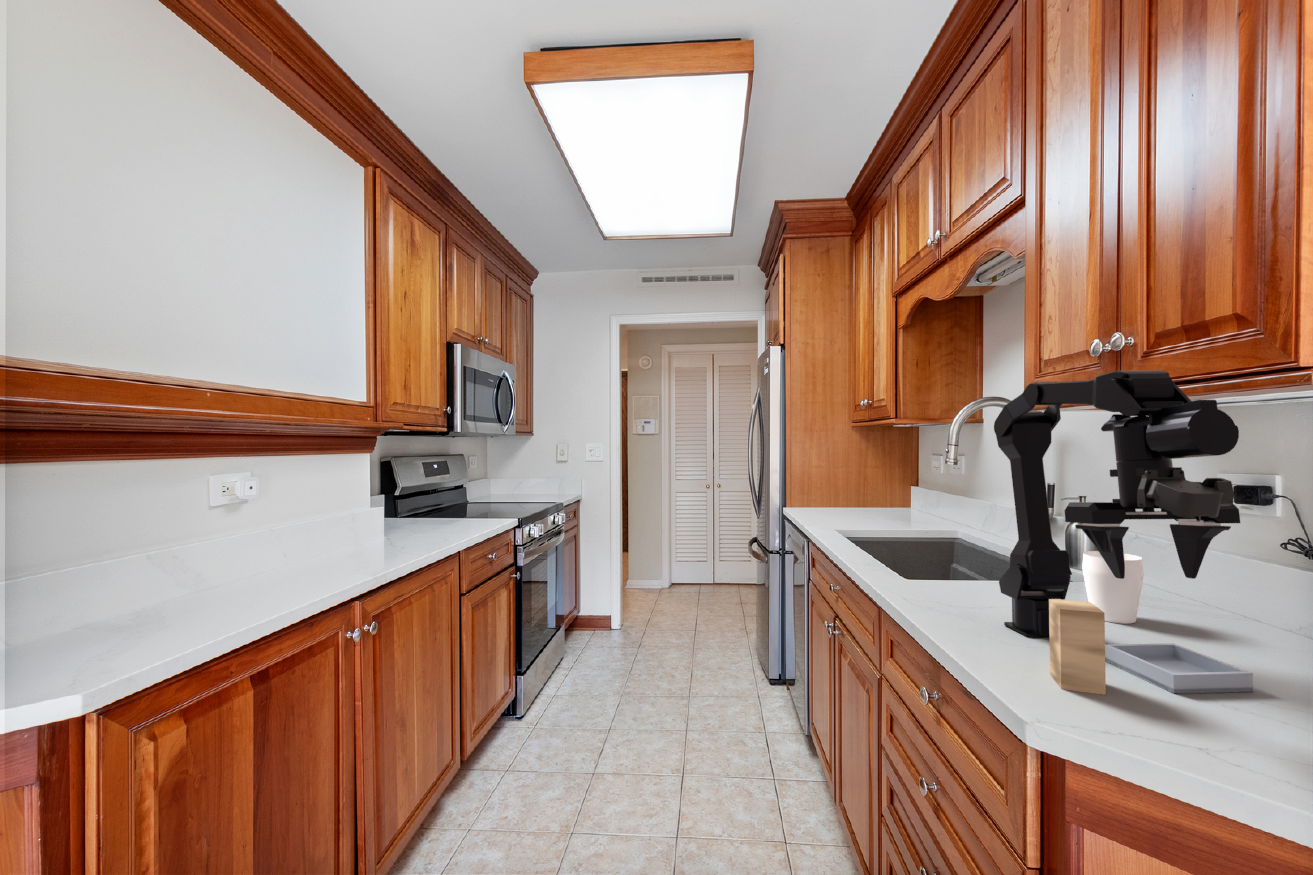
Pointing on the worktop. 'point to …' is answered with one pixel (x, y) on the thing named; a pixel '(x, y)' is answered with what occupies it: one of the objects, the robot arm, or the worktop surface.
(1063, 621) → the oak block
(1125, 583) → the cup
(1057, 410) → the robot arm
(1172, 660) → the dish
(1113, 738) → the worktop surface
